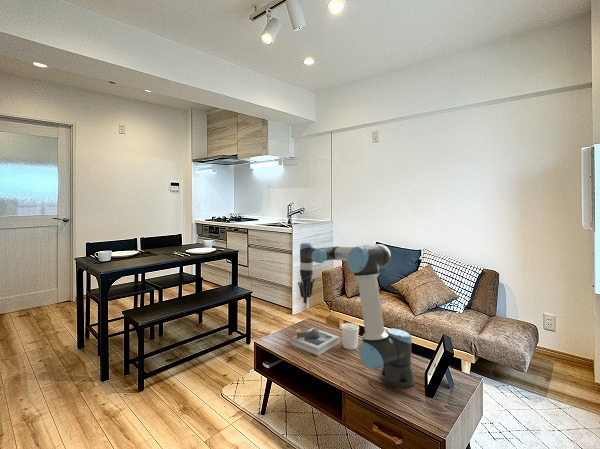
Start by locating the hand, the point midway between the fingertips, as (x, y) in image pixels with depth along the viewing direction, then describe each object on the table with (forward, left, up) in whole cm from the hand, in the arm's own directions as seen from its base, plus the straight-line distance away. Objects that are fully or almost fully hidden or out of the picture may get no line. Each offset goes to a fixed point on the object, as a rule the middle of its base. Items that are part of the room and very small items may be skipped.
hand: (306, 307), depth 191 cm
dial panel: (-7, 0, -20) cm, 21 cm away
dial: (-6, +2, -18) cm, 19 cm away
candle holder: (-24, -11, -20) cm, 33 cm away
